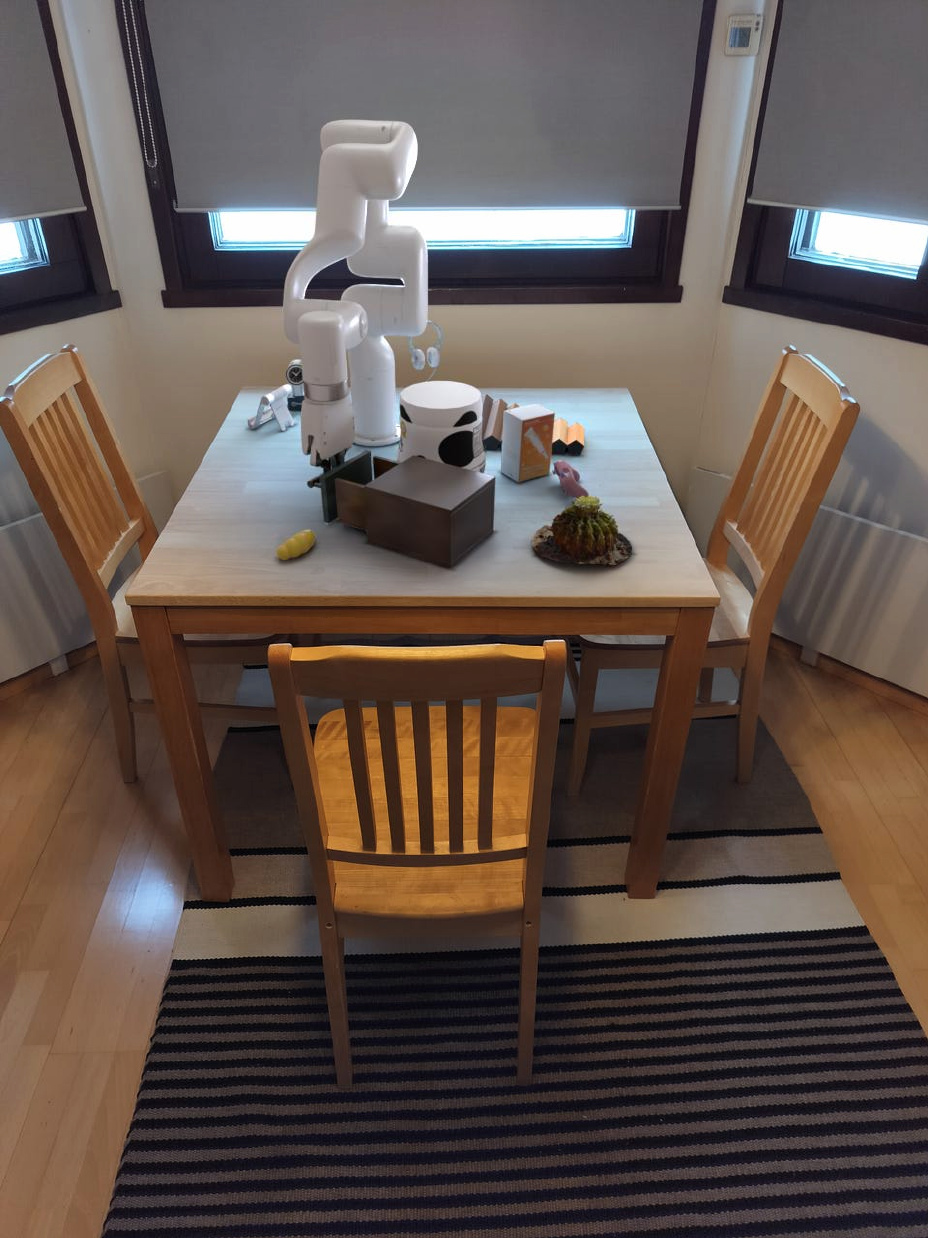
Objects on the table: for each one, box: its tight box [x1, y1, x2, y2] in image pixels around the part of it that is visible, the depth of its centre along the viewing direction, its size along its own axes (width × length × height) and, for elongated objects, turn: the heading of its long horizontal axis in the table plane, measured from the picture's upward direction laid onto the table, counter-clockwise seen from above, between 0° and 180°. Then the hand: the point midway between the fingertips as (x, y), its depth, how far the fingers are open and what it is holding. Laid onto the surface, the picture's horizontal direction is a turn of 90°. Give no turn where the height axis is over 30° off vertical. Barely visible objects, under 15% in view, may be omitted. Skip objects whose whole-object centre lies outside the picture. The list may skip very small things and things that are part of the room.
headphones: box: [408, 319, 443, 382], centre depth 192 cm, size 8×4×20 cm, turn 120°
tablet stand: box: [247, 383, 295, 432], centre depth 185 cm, size 9×8×8 cm
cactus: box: [531, 495, 633, 566], centre depth 140 cm, size 17×16×10 cm
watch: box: [285, 359, 305, 412], centre depth 194 cm, size 6×8×11 cm
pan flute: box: [481, 393, 585, 456], centre depth 186 cm, size 25×3×25 cm
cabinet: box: [364, 455, 496, 570], centre depth 142 cm, size 17×15×11 cm
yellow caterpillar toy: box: [275, 529, 316, 561], centre depth 140 cm, size 9×4×3 cm, turn 150°
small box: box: [500, 403, 555, 483], centre depth 164 cm, size 8×6×13 cm
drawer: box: [306, 449, 402, 532], centre depth 148 cm, size 21×14×9 cm, turn 60°
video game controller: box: [551, 458, 590, 500], centre depth 160 cm, size 10×5×7 cm, turn 5°
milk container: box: [395, 380, 487, 474], centre depth 158 cm, size 17×17×18 cm
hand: (334, 487), depth 151 cm, fingers closed
